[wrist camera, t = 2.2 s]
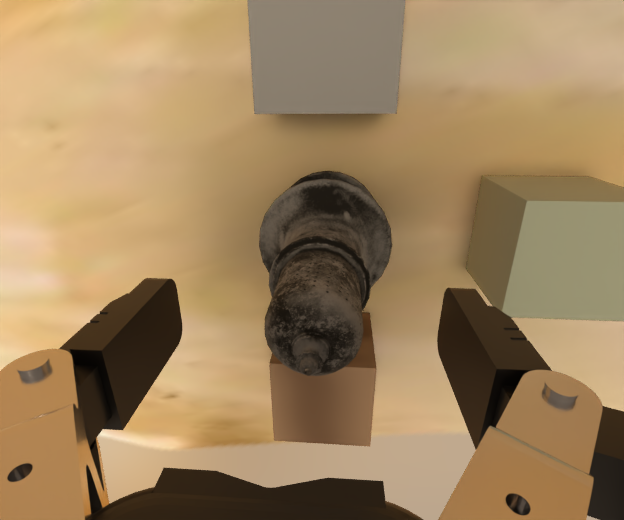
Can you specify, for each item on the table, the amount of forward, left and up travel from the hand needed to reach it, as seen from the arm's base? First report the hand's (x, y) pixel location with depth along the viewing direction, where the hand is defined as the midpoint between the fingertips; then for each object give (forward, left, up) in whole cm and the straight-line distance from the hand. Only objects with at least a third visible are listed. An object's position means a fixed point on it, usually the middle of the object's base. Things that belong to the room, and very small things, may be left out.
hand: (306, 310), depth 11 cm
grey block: (0, -8, -10) cm, 12 cm away
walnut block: (0, +8, -10) cm, 13 cm away
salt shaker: (0, 0, -10) cm, 10 cm away
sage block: (-10, 0, -10) cm, 14 cm away
